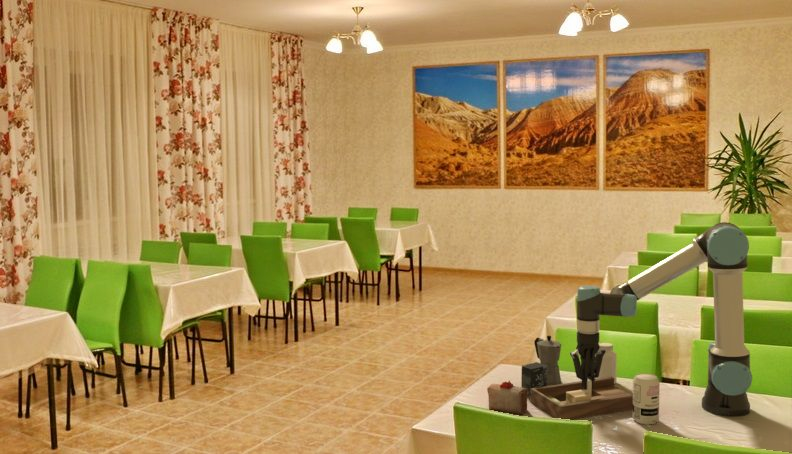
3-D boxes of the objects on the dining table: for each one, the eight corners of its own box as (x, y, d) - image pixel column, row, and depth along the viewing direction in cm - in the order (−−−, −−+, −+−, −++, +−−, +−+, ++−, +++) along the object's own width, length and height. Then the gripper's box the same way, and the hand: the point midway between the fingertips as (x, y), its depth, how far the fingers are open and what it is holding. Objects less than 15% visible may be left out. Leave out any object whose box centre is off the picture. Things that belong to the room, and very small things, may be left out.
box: (531, 397, 268) (531, 369, 267) (521, 393, 272) (520, 365, 271) (547, 392, 272) (547, 365, 271) (536, 388, 277) (536, 361, 276)
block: (590, 406, 252) (590, 395, 251) (575, 408, 250) (575, 397, 249) (581, 400, 257) (581, 389, 257) (566, 403, 255) (566, 391, 255)
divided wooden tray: (646, 407, 255) (646, 393, 254) (560, 421, 244) (560, 406, 243) (611, 389, 274) (611, 376, 273) (530, 402, 263) (530, 388, 262)
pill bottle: (590, 380, 285) (591, 342, 283) (608, 378, 287) (609, 340, 286) (602, 386, 277) (602, 348, 276) (620, 384, 280) (621, 345, 278)
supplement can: (638, 414, 249) (638, 371, 247) (662, 419, 243) (663, 375, 242) (628, 421, 242) (629, 377, 241) (653, 427, 237) (654, 382, 236)
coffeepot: (569, 383, 282) (569, 337, 280) (549, 387, 278) (549, 341, 276) (544, 373, 295) (544, 329, 293) (525, 376, 291) (525, 332, 289)
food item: (484, 410, 256) (484, 382, 255) (493, 402, 263) (493, 376, 262) (521, 416, 249) (521, 388, 248) (529, 409, 256) (529, 381, 255)
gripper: (598, 326, 258) (597, 392, 260) (565, 330, 253) (565, 396, 256) (610, 331, 250) (609, 398, 253) (577, 335, 246) (577, 403, 249)
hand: (587, 397), depth 255 cm, fingers closed
